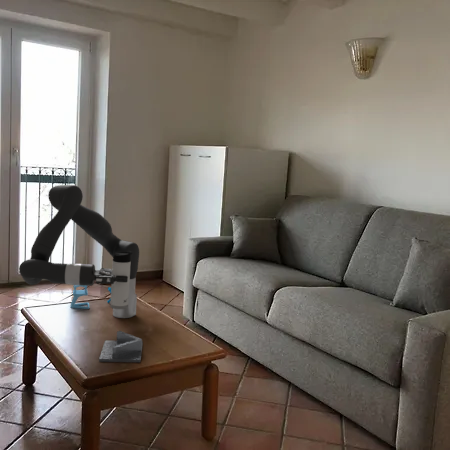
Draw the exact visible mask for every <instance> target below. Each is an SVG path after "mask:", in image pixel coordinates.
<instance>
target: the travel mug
mask: <svg viewBox="0 0 450 450" xmlns="http://www.w3.org/2000/svg"><path fill="white" fill-rule="evenodd" d="M131 254H132V252H117V253H114V254H113V257H112V266H111V267H112V268H111V269H112V275H119V276H128V281H127V282H117V281H116V283H114V284H110V285H111V286H110V288H111V293H110V298H111V301H110V302H109V304H110V308H111V309H113V308H114V309H126V308H127V307H128V299H129V282H130V264H131Z"/></svg>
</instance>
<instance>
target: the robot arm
mask: <svg viewBox="0 0 450 450" xmlns="http://www.w3.org/2000/svg"><path fill="white" fill-rule="evenodd" d="M48 201H49V203H50V205H51V206H52V207H53V208H54V209H56V210H57V213H56V214H55V215H54V216H53V218H51V219H50V221H49V222H47V223H46V224H45V225H44V226H43V227H42V228H41V230H40V231H39V233H38V234H37V236H36V238H35V240H34V243H33V244H32V246H31V250H30V258H29V259H25V260H24V261H22V262H21V264H20V265H19V268H18V272H19V274H20V276H21V278H22V279H23V280H24V282H25V283H26V284H28V285H31V286H32V285H37V284H39V283H40V282H42V280H46V281H49V282H50V283H51V284H52V283H53V284H60V285H61V284H62V285H72V286H74V285H75V286H76V285H85V286H87V287H89V286H90V287H91V286H94V283H95V284H105V285H106V284H109V285H111V284H114V283H116V281H117V282H127V281H128V276H119V275H112V268H106V267H105V268H104V267H101V268H99V269H97V270H96V266H95V264H91V263H90V264H89V263H60V262H59V263H57V262H51V261H50V258H51V256H52V254H53V251H54V250H55V248H56V245H57V243H58V240H59V239H60V237H61V235H62V233H63V232H64V230H65V228H66V227H67V226H68V224H69V223H70V221H72V222H74V223H75V224H76V225H77V226H78V227H79V228H80V229H82V230H83V231H84V232H85V234H86V235H89V237H91V238H92V239H93V240H94V241H96V243H98V244H100V246H102V247H103V248H104V249H105V250H106V251H107V253H109V255H110V256H111V257H112V258H113V254H114V253H117V252H132V254H131V264H130V282H129V299H128V307H127V308H126V309H114V308H112V316H113V317H114V318H119V319H128V318H129V319H130V318H132V317H134V316H137V299H138V298H137V297H138V295H137V293H136V282H137V281H136V280H137V279H136V278H137V273H138V268H139V261H140V260H139V259H140V248H139V245H138V244H137V243H136V242H133V241H128V240H123V239H120V238H119V237H118V236H116V235H115V234H114V232H113V228H112V225H111V224H110V222H109V221H108V220H107V218H105V217H104V216H103V215H102V214H101V213H99V212H98V211H95V210H94V209H91V208H89V207H87V206H84V205H82V202H83V191H82V189H81V188H80V187H79V186H78V185H76V184H61V185H60V184H59V185H55V186H53V187H51V188H50V190H49V191H48Z"/></svg>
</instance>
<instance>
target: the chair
mask: <svg viewBox="0 0 450 450" xmlns="http://www.w3.org/2000/svg"><path fill="white" fill-rule="evenodd" d="M72 286H73V290H72V296H73V297H72V299H71V303H70V307H69V308H70V309H83V310H84V309H85V310H89V309H90V303H89V302H79V303H76V302H77V300H78V298H81V297H84V296H89V292H88V286H85V285H72ZM79 287H82V288H84V289H77V288H79Z"/></svg>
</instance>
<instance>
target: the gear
mask: <svg viewBox="0 0 450 450" xmlns="http://www.w3.org/2000/svg"><path fill="white" fill-rule="evenodd" d="M107 290H108V292H109V294H111V286H109V287H107ZM106 302H107V304H110V302H111V297H110V298H109V299H108V300H106Z"/></svg>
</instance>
